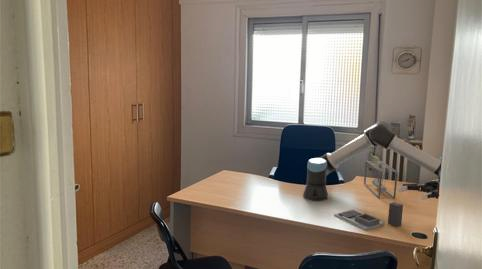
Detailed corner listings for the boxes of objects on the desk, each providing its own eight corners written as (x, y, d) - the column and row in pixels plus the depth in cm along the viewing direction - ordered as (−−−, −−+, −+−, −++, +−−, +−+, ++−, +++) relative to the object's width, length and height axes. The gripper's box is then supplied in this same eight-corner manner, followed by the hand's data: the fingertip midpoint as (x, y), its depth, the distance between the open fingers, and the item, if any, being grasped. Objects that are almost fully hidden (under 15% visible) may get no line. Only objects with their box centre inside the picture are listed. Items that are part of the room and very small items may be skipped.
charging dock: (333, 216, 199) (334, 209, 198) (352, 211, 206) (352, 205, 205) (365, 230, 181) (365, 223, 180) (383, 224, 188) (384, 218, 188)
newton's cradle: (363, 184, 257) (365, 159, 254) (378, 184, 257) (380, 160, 254) (378, 199, 227) (380, 171, 224) (395, 199, 227) (398, 171, 224)
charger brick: (387, 223, 190) (389, 202, 188) (392, 222, 192) (394, 201, 190) (396, 227, 186) (398, 205, 184) (401, 225, 188) (403, 204, 186)
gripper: (456, 200, 192) (433, 207, 181) (413, 187, 213) (389, 193, 202) (458, 186, 191) (434, 193, 180) (414, 175, 212) (390, 180, 201)
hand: (410, 193), depth 191 cm, fingers open, 13 cm apart
